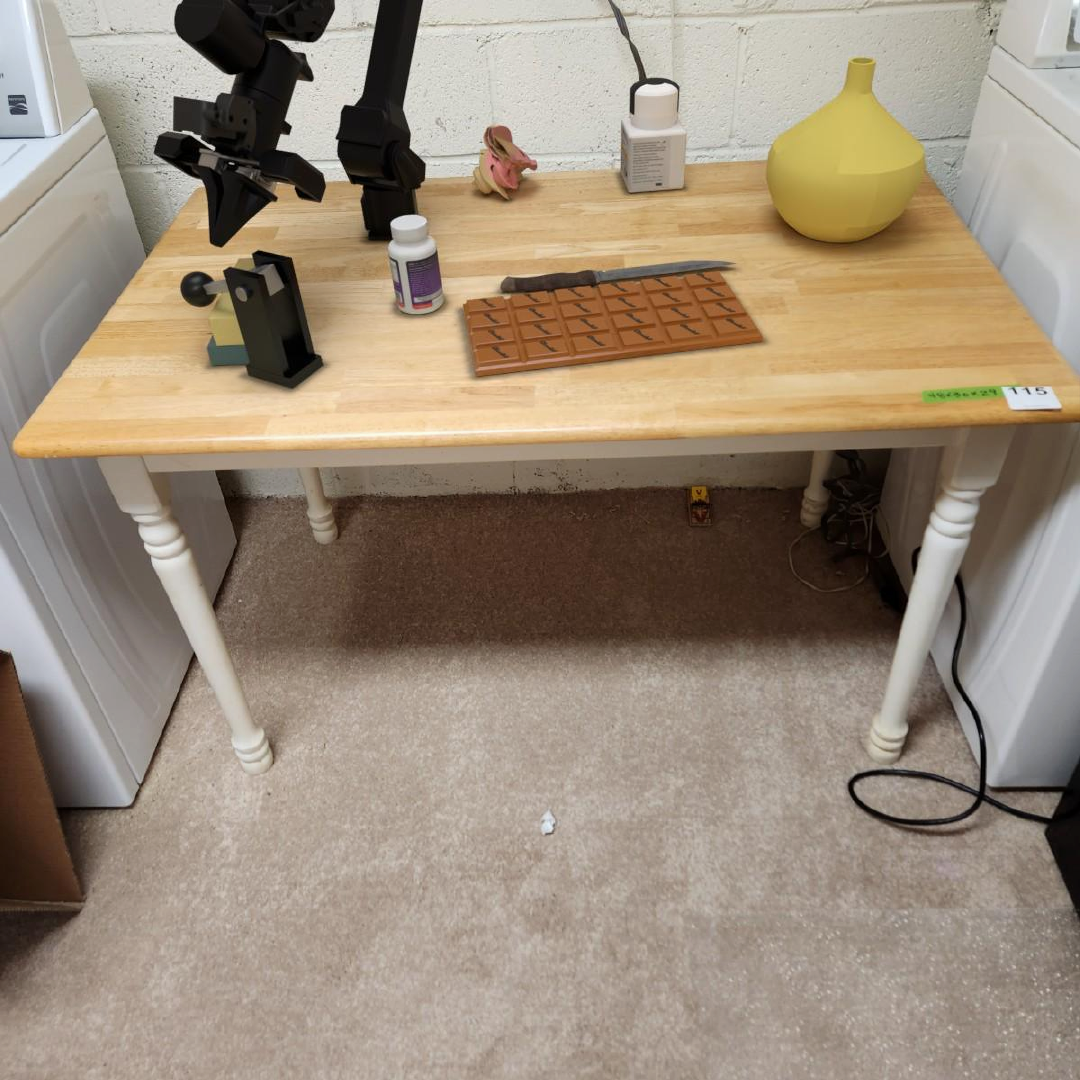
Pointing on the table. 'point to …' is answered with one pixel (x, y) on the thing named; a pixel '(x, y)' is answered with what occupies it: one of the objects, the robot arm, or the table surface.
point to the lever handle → (221, 285)
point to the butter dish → (226, 354)
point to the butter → (228, 314)
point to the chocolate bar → (605, 323)
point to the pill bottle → (415, 266)
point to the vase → (845, 165)
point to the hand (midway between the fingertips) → (215, 245)
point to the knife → (599, 276)
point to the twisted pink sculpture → (500, 162)
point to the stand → (273, 322)
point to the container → (653, 137)
